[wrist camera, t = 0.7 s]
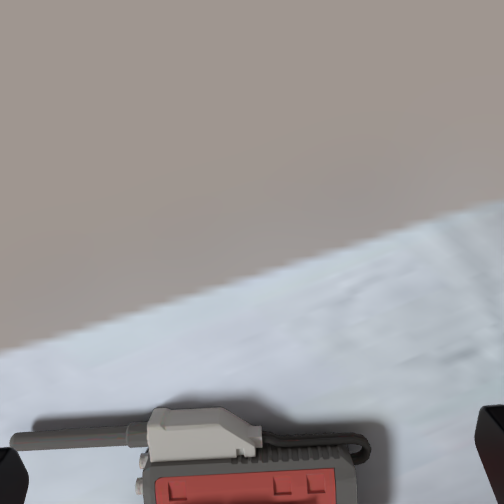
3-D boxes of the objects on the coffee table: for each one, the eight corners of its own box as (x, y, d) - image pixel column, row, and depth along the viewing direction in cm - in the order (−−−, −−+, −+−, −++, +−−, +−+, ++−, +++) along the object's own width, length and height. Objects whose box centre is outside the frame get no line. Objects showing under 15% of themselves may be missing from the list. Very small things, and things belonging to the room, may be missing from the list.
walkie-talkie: (362, 392, 25) (20, 411, 26) (385, 435, 21) (-27, 457, 21) (366, 527, 27) (41, 543, 27) (388, 593, 22) (0, 613, 23)
